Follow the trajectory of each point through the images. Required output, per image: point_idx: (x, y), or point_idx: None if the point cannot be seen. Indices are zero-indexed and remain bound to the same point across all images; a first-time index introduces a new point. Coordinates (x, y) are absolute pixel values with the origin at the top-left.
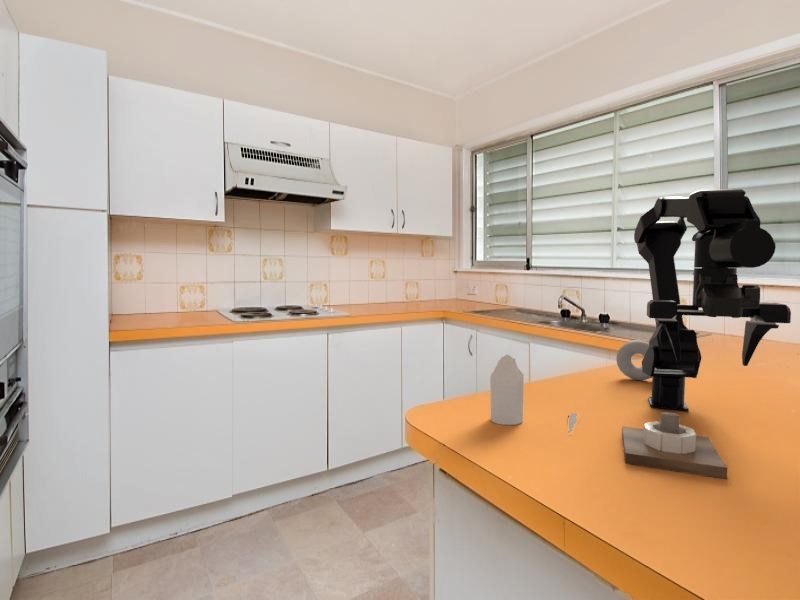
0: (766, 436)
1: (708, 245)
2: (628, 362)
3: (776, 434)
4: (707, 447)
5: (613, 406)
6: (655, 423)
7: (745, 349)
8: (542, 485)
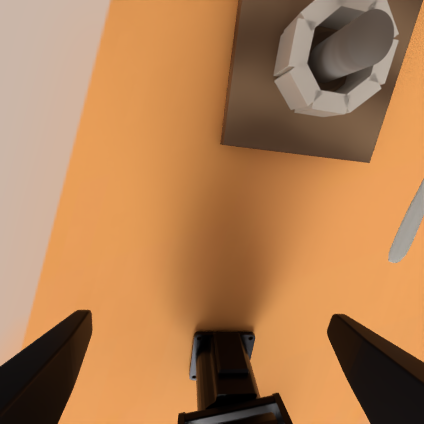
0: (94, 239)
1: None
2: None
3: (73, 256)
4: (247, 69)
5: (315, 317)
6: (359, 90)
7: (41, 402)
8: None
